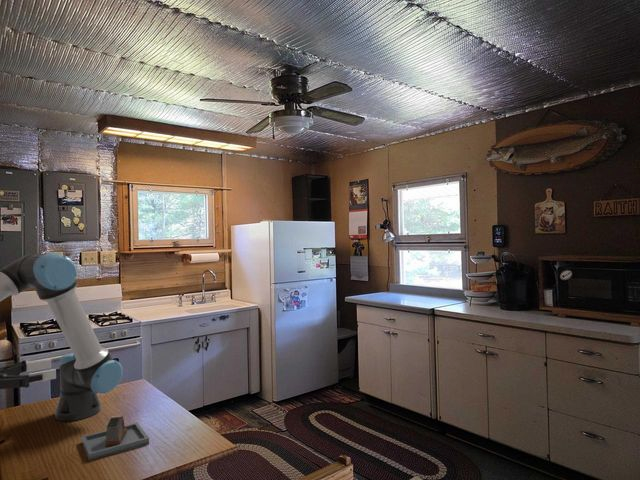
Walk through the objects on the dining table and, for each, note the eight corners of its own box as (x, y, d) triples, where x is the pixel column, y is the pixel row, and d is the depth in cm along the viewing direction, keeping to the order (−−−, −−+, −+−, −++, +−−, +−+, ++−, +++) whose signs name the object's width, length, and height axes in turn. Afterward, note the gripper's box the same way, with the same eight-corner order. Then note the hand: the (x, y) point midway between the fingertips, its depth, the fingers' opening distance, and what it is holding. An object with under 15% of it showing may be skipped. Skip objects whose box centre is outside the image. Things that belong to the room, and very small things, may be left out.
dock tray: (81, 442, 139) (81, 436, 139) (137, 428, 149) (137, 422, 149) (89, 461, 127) (89, 454, 127) (149, 444, 137) (149, 437, 137)
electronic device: (127, 432, 144) (127, 410, 144) (120, 446, 135) (119, 422, 135) (113, 434, 143) (113, 411, 143) (104, 447, 134) (104, 423, 134)
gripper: (-33, 385, 129) (50, 370, 142) (-39, 412, 109) (58, 391, 122) (-35, 361, 129) (49, 348, 142) (-40, 382, 109) (57, 365, 122)
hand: (53, 368), depth 132 cm, fingers open, 13 cm apart
